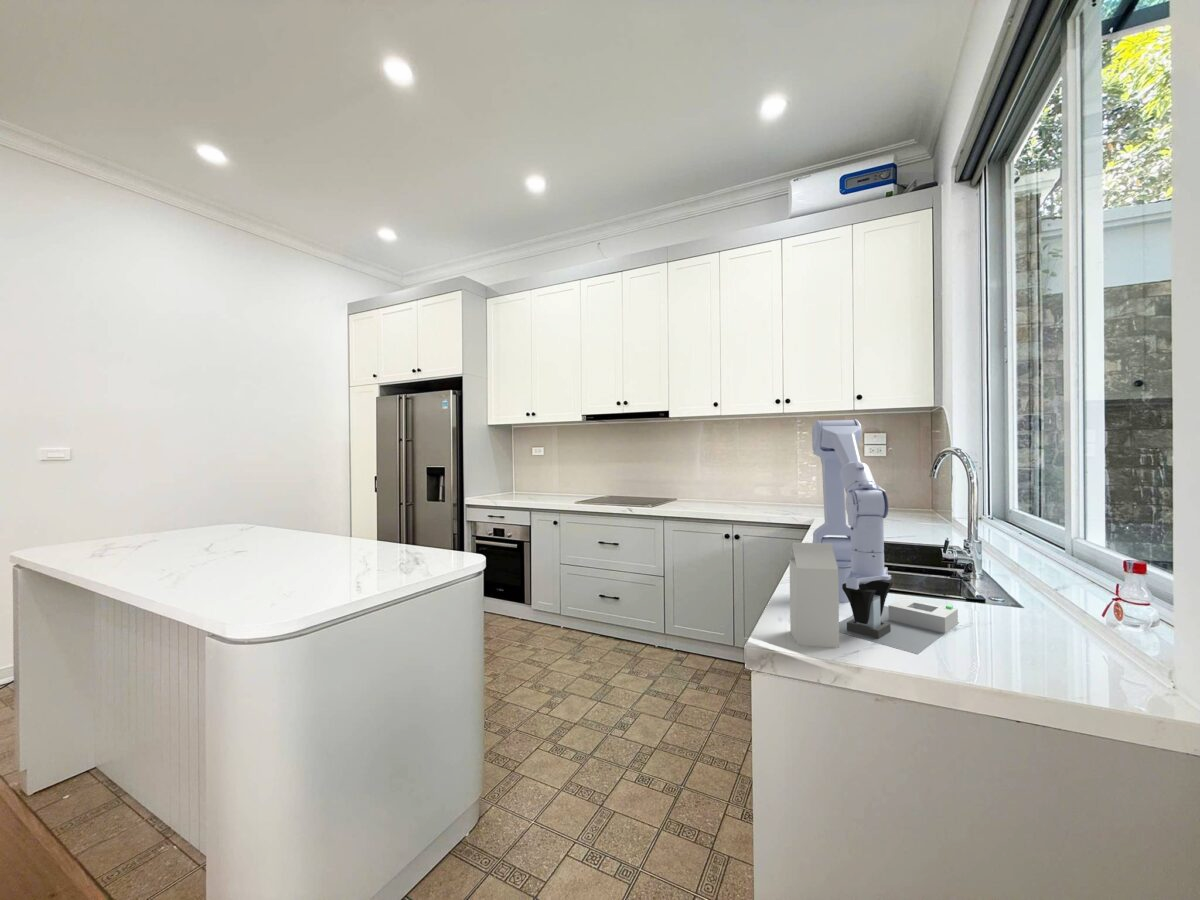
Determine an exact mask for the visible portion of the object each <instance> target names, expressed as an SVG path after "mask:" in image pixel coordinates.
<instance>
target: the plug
mask: <svg viewBox="0 0 1200 900" xmlns="http://www.w3.org/2000/svg"><path fill="white" fill-rule="evenodd" d="M856 623H857V624H861V625H864V626H868V627H872V628H877V627H879V626H881V619H880V596H879V595H874V596H873V599H872V602H871V606H870V615H869V621H868V624H863V623H859V622H856Z"/></svg>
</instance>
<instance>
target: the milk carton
mask: <svg viewBox="0 0 1200 900" xmlns="http://www.w3.org/2000/svg"><path fill="white" fill-rule="evenodd" d="M789 607H790V608H789V616H790V618H789V619H790V620H789V621H790V623H789V624H790V633H791V635H792V637H793V639H794V640H795V643H796V644H797V646H805V647H819V648H821V647H822V648H837V649H839V648H840V633H839V622H840V618H839V617H840V612H839V611H840V610H839V609H840V603H839V596H838V567H837V563H836V559H835V556H834V552H833V544H832V543H812V542H792V549H791V552H790V556H789Z"/></svg>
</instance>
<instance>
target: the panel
mask: <svg viewBox="0 0 1200 900" xmlns="http://www.w3.org/2000/svg"><path fill="white" fill-rule="evenodd" d="M958 614H959V612H958V608H955V607H954V605H951V604H950V605H949V604H946V605H940V604H934V603H930V602H925V601H919V600H915V599H910V598H905V597H902V598H900V599H897V600H896V601H894V602H892V603H890V604H888V606H887V605H884V608H883V612H882V615H881V616H880V619H881V626H879V627H877V628H872V627H868V626H864V625H861V624H857V623H856V622H855V619H854V616H853V614H852V615H851V616H849V617H847V618H845V619H842V620H839V634H843V635H848V636H851V637H855V638H858V639H862V640H865V641H869V642H871V643H876V644H878V645H883V646H887V647H890V648H892V649H896V650H900V651H904V652H908V653H912V654H914V655H919V654H920V653H922V652H923V651H924V650H926V649H927V648H928V647H930V646H931V645H932V644H933V643H935V642H937V640H939V639H940V638H942V637H943V636H944V635H945V634H947V633H948V632H949V631H951V630H953V628H955V627H956V626H957V625H959V624H960V622H959V619H958V618H959V615H958Z"/></svg>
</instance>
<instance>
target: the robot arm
mask: <svg viewBox="0 0 1200 900" xmlns="http://www.w3.org/2000/svg"><path fill="white" fill-rule="evenodd" d="M811 429H812V430H811V444H812V445H811V446H812V453H813V455H815V456H817V457H819V458H820V462H821V473H822V474H821V475H822V494H823V513H824V514H823V515H824V516H823V517H824V523H823V524H821V525H820V526H818V527H817V528H816V529H815V530H814V531H813V533H812V542H811V543H832V544H833V552H834V556H835V559H836V563H837V567H838V596H839V604H840V603H849V606H850V608H851V612H852V615H853V616H854V619H855V622H859V623H863V624H868V621H869V615H870V606H871V602H872V599H873V596H874V595H879V596H880V616H881V615H882V612H883V608H884V606H885V604H886V603H885V602H886V599H887V597H888V594H889V592H890V590H891V588H892V587H893V585H894V581H893V580H891V579H892V575H891V574H889V572H888V567H886V566H885V544H884V542H885V539H884V538H885V537H884V536H885V535H884V533H885V532H884V519H886V518H887V517H888V515H889V508H890V507H889V506H890V504H889V497H888V494H887V491H886V490H885V489H884V488H882V487H881V486H880V485H877V484H876V481H875V479H874V476H873V474H872V471H871V469H870V466H869V465H868V464H867V463H864V462H862V461H861V456H860V452H859V448H858V446H859V445H860V442H861V440H862V437H863V436H862V434H863V433H862V424H861V423H860V422H859V420H858V419H853V418H852V419H841V420H840V419H839V420H838V419H837V420H836V419H835V420H819V419H817V420H815V421H814V423H813V424H812V428H811ZM845 494H846V495H845ZM846 514H847V515H846ZM846 516H847V519H846ZM847 523H848V525H847ZM837 536H839V537H837ZM840 536H841V537H840ZM843 536H844V537H843Z"/></svg>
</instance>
